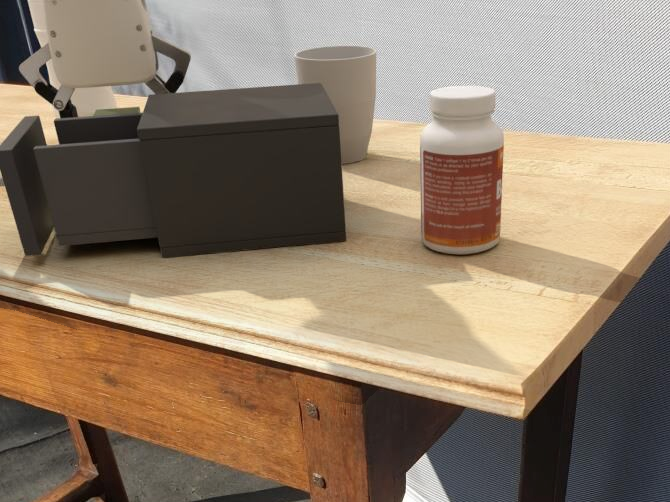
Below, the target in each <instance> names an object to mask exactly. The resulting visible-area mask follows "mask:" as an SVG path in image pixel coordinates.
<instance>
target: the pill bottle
mask: <svg viewBox="0 0 670 502" xmlns="http://www.w3.org/2000/svg"><path fill="white" fill-rule="evenodd" d="M496 95H497V93H496V90H495V89H494V88H492V87H488V86H482V85H451V86H444V87H439V88H435V89H433V90H431V91H430V93H429V108H428V109H429V111H430V112H429V113H430V115H431V116H432V117H433V120H432V121H431V122H430V123H428V124H427V125H425V127H424V128H423V130H422V132H421V134H420V139H419V153H420V154H419V158H420V159H419V161H420V163H419V165H420V171H419V173H420V176H419V177H420V229H421V230H420V233H421V235H420V236H421V241H422V243H423V244H424V246H426V247H427V248H428V249H431V251H435V252H438V253H442V254H448V255H458V256H459V255H460V256H461V255H472V254H478V253H482V252H485V251H487V250H490V249H492V248H494V247H495V246H496V245H497V244H498V243H499V241H500V238H501V229H502V228H501V221H502V198H503V197H502V196H503V173H504V171H503V169H504V150H505V149H504V147H505V135H504V132H503V129H502V128H501V127H500V125H499V124H498V123H497V122H495V121H493V119H492V115H493V114H494V113H495V109H496Z"/></svg>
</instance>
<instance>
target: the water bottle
mask: <svg viewBox="0 0 670 502" xmlns="http://www.w3.org/2000/svg"><path fill="white" fill-rule="evenodd" d="M27 4H28V7H29V11H30V17H31V20H32V24H33V31H34V33H35V36H36V38H37V40H38V42H39V45H40V49H41V48H42V47H43V46H45V45H46V44H47V43H48V36H47V30H46V24H45V18H44V11H43V3H42V0H27ZM45 65H46V68H47V74H48V80H49V83H50V84H51V85H52V86H53V87H55V88H56V89H57V90H59V88H60V86H61V83H60V82H59V81H58V79H57V77H56V74H55V70H54V67H53V62H52V58H51V59H50V60H49V61H47V62H46V63H45ZM70 100H71V102H72V104H74V106H76V110H77V114H78V117H86V116H93V115H94V113H95V111H96V110H100V109H114V108H118V105H117V99H116V96H115V93H114V92H113V89H112V86H104V87H90V88H75V90H74V92H73V94H72V96H71V98H70ZM51 106H52V110H53V113H54V117H55V119H58V118H60V114H59V111H58V110H56V109H55V108H54V106H53V105H52V104H51Z"/></svg>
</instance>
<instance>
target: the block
mask: <svg viewBox="0 0 670 502" xmlns="http://www.w3.org/2000/svg"><path fill="white" fill-rule="evenodd" d="M128 113H142V112H141V108H140V106H132V107H131V106H130V107H117V108H114V109H100V110H96V111H95V113H94V115H93V116H100V115H114V114H128Z"/></svg>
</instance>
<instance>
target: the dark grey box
mask: <svg viewBox="0 0 670 502" xmlns="http://www.w3.org/2000/svg"><path fill="white" fill-rule="evenodd" d="M142 113H143V114H142V117H141V119H140V122H139V125H138V128H137V133H138V138H139V143H140V148H141V153H142V158H143V164H144V169H145V174H146V179H147V184H148V189H149V194H150V199H151V205H152V210H153V215H154V220H155V225H156V230H157V235H158V237H157V240H158V245H159V250H160V256H161V258H173V257H174V258H175V257H184V256H185V257H186V256H195V255H206V254H207V255H208V254H217V253H228V252H240V251H241V252H242V251H250V250H261V249H274V248H282V247H283V248H284V247H295V246H305V245H316V244H327V243H328V244H329V243H338V242H346V241H347V233H346V232H347V231H346V230H347V229H346V227H347V226H346V212H345V196H344V195H345V194H344V180H343V179H344V177H343V164H342V162H341V146H340V130H339V115H338V113H337V111H336V109H335V108H334V106H333V104H332V102H331V100H330V98H329V97H328V95H327V93H326V91H325V89H324V87H323V86H322V84H321V83H312V84H298V83H297V84H285V85H283V84H282V85H271V86H256V87H242V88H241V87H240V88H225V89H212V90H198V91H185V92H184V91H183V92H176V93H167V94H155V93H154V94H148V97H147V100H146V103H145V105H144V108H143V110H142Z"/></svg>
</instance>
